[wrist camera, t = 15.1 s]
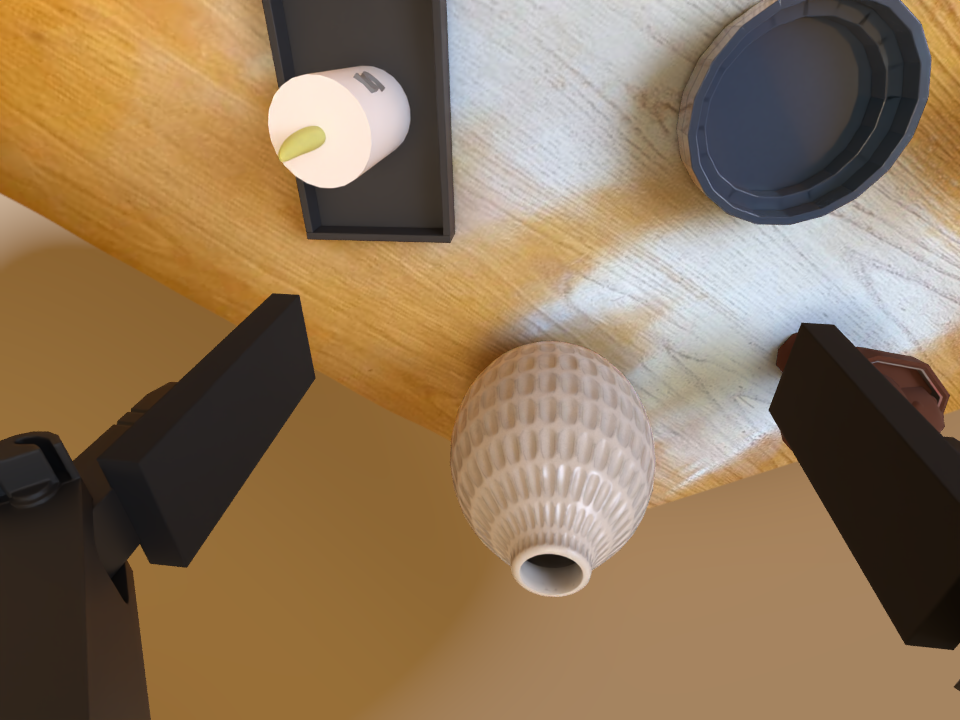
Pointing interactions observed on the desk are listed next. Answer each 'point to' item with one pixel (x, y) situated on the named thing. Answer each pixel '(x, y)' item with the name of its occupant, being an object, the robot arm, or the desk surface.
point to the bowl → (803, 106)
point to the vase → (552, 463)
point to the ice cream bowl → (898, 380)
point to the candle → (337, 123)
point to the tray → (425, 80)
